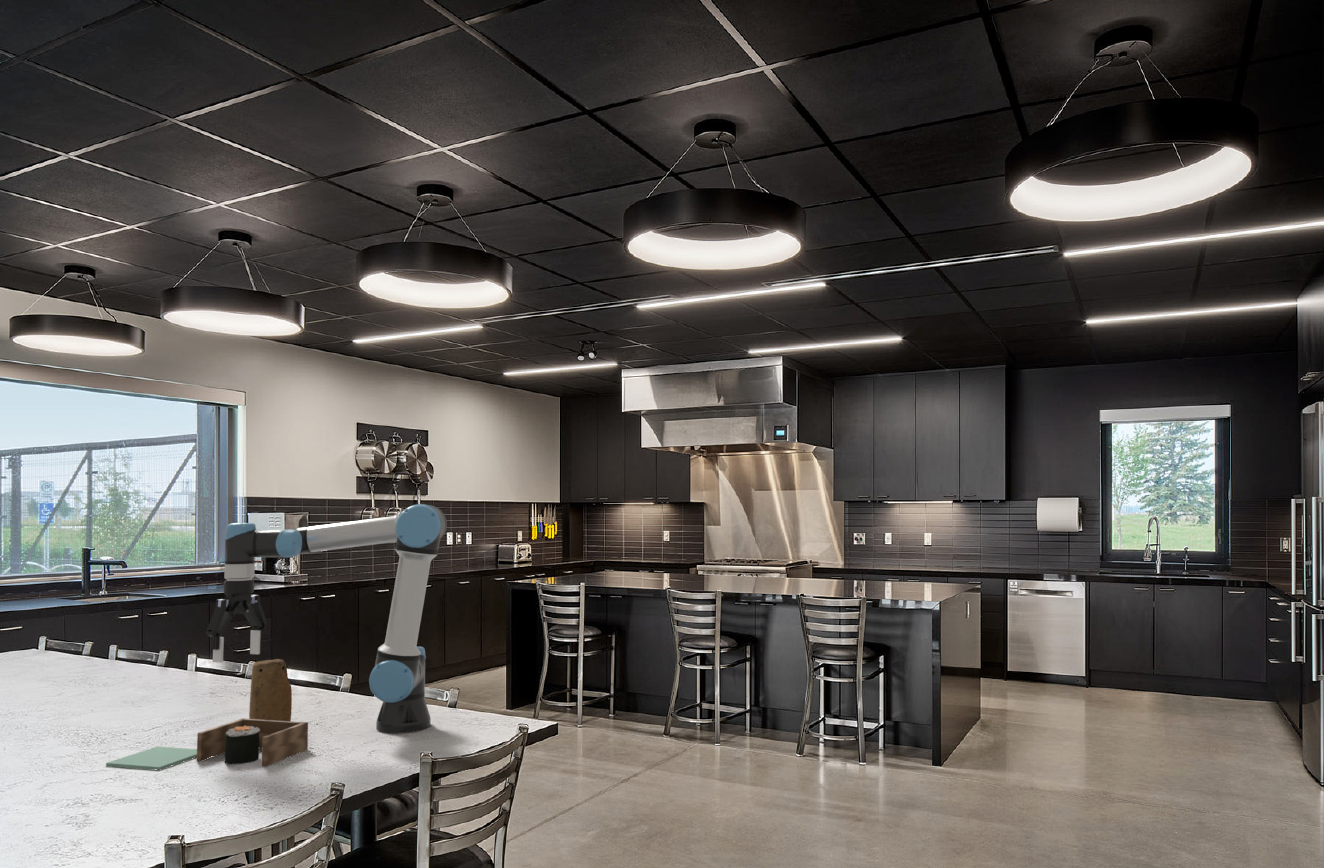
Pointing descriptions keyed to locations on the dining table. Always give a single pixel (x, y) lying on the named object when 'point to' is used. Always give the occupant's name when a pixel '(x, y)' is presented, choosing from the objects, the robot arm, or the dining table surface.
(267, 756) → the frame
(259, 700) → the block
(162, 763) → the mat
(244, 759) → the sushi
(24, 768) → the dining table surface
